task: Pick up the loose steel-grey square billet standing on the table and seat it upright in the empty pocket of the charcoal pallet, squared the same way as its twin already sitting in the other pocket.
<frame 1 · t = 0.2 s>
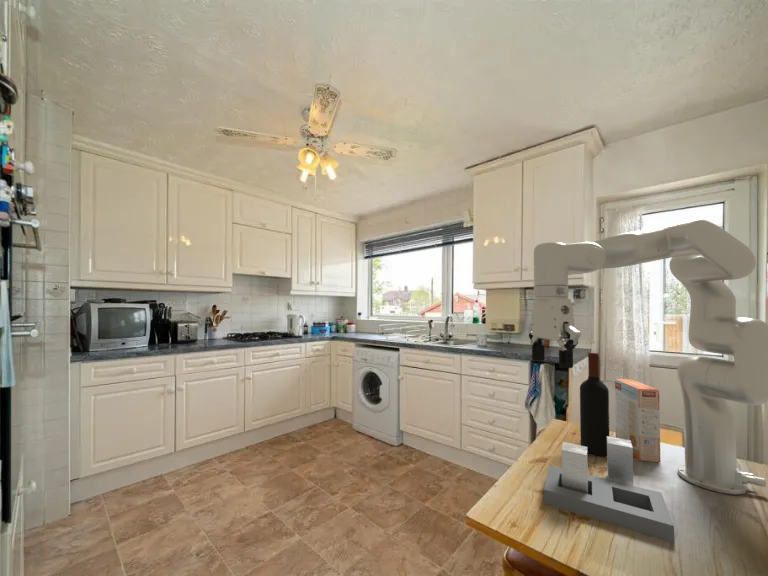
hand: (551, 363, 80), 31 cm above the table, tool pointing down, fingers open, 9 cm apart
pallet: (602, 509, 73), on the table
cracker box: (637, 452, 102), on the table
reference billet: (575, 497, 75), point 1 cm above the table, touching pallet
loose billet: (620, 486, 82), on the table
wine bottle: (595, 452, 102), on the table
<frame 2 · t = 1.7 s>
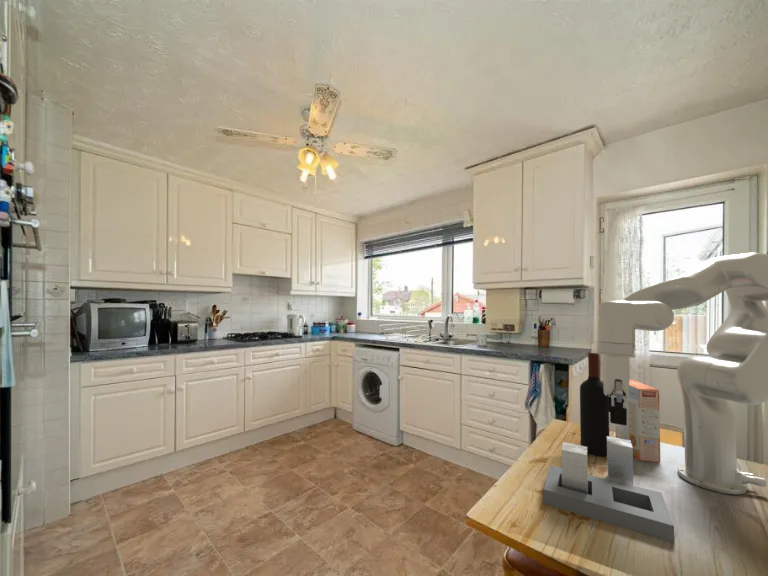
hand: (616, 418, 83), 17 cm above the table, tool pointing down, fingers open, 9 cm apart
nothing on the table moved.
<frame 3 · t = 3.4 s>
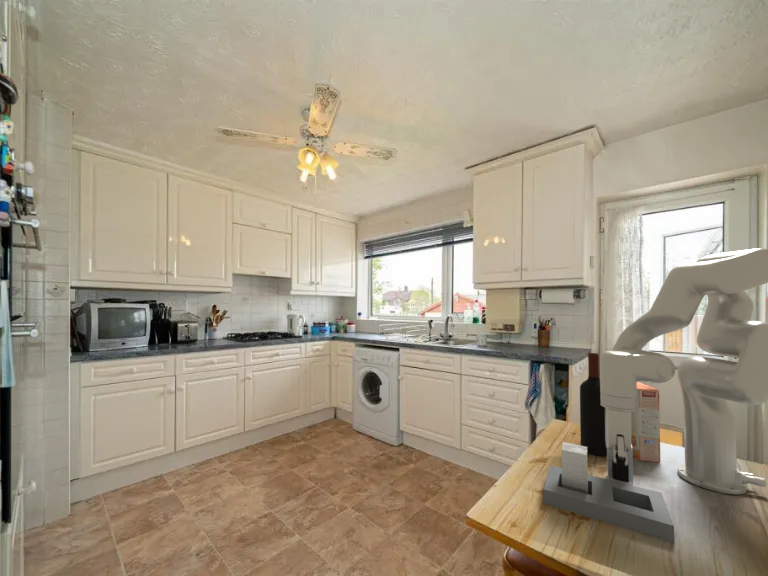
hand: (619, 474, 82), 3 cm above the table, tool pointing down, fingers closed on loose billet, 5 cm apart
loose billet: (619, 486, 82), on the table, touching gripper
everything else where it was.
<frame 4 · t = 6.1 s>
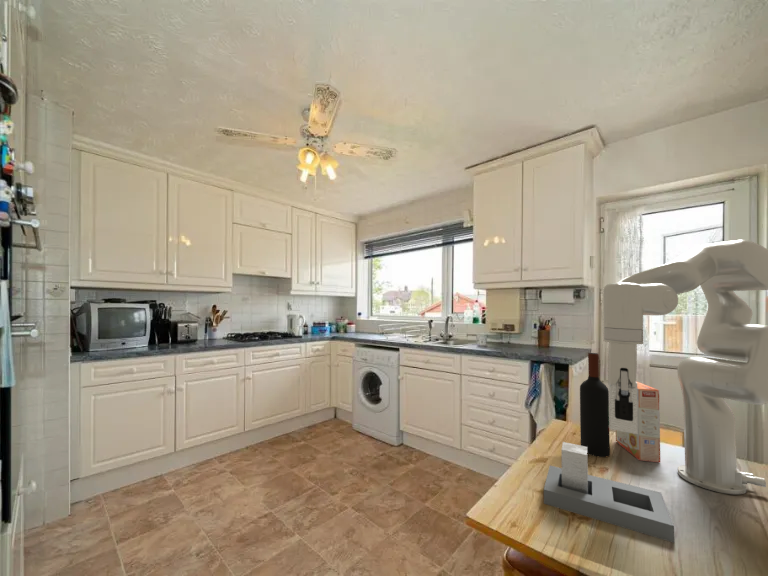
hand: (623, 415, 75), 20 cm above the table, tool pointing down, fingers closed on loose billet, 5 cm apart
loose billet: (623, 428, 75), point 17 cm above the table, touching gripper
everything else where it was.
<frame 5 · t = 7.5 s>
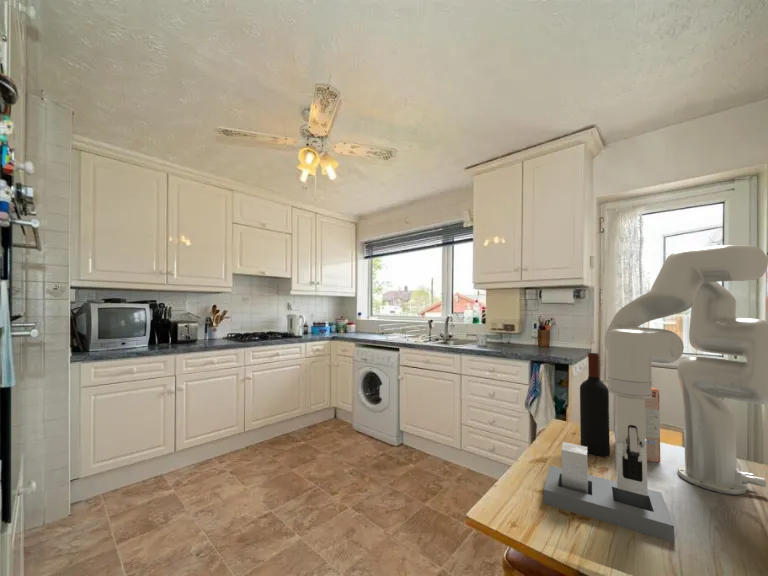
hand: (631, 472, 70), 9 cm above the table, tool pointing down, fingers closed on loose billet, 5 cm apart
loose billet: (630, 486, 70), point 6 cm above the table, touching gripper
everything else where it was.
when the fingers open (5 cm above the table, at t = 8.8 s): loose billet drops 1 cm, resting on pallet.
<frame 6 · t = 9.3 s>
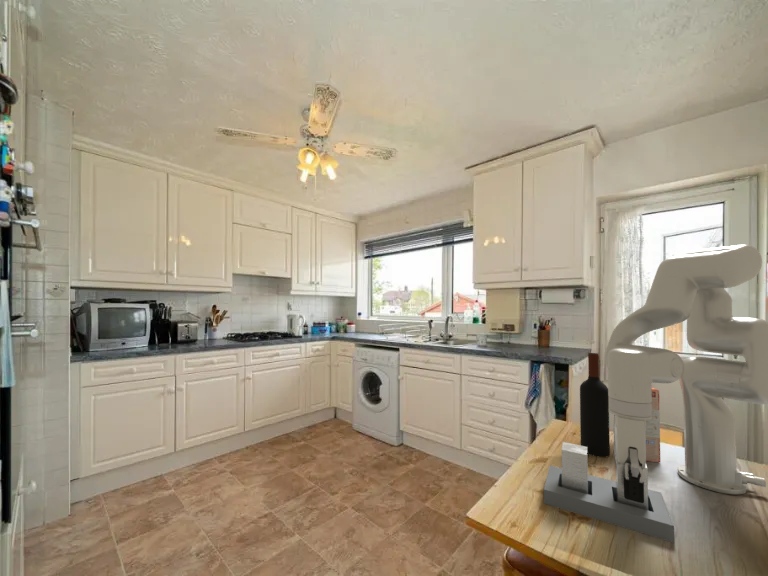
hand: (631, 488, 70), 6 cm above the table, tool pointing down, fingers open, 9 cm apart
loose billet: (631, 512, 70), point 1 cm above the table, touching pallet
everything else where it was.
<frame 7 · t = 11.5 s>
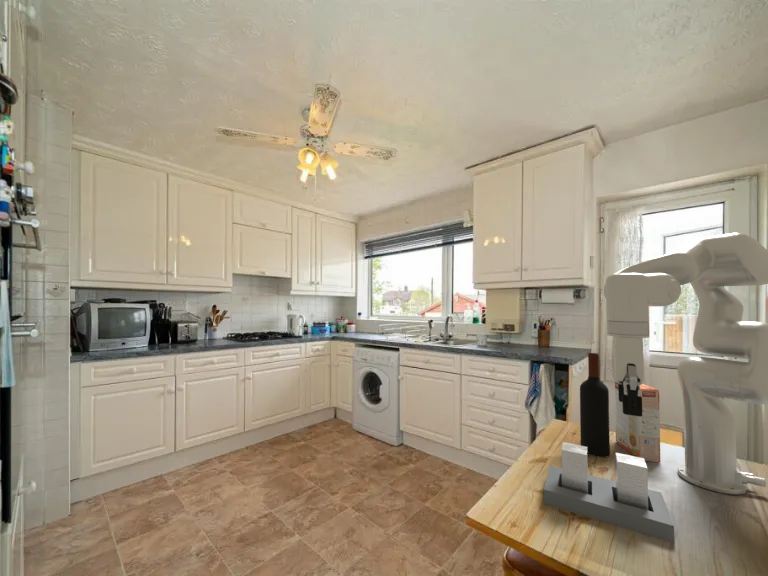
hand: (629, 408, 72), 23 cm above the table, tool pointing down, fingers open, 9 cm apart
nothing on the table moved.
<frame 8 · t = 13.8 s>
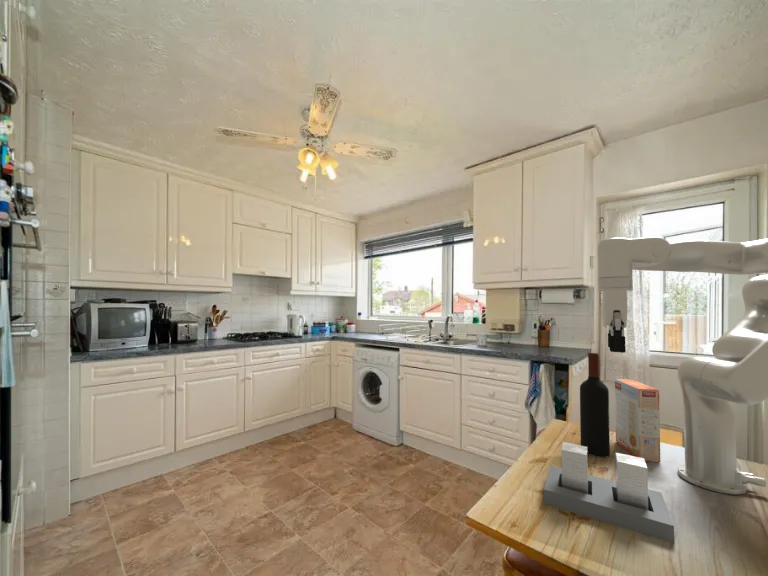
hand: (616, 349, 87), 33 cm above the table, tool pointing down, fingers open, 9 cm apart
nothing on the table moved.
at the end: loose billet 0.1 cm from the target spot on the pallet, point 1.0 cm above the pallet's base; loose billet tilted 0°; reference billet moved 0.0 cm from its start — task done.
